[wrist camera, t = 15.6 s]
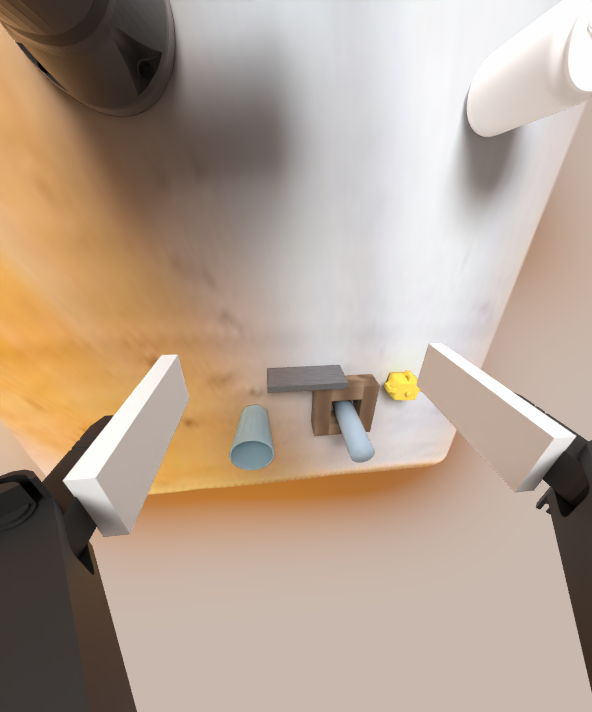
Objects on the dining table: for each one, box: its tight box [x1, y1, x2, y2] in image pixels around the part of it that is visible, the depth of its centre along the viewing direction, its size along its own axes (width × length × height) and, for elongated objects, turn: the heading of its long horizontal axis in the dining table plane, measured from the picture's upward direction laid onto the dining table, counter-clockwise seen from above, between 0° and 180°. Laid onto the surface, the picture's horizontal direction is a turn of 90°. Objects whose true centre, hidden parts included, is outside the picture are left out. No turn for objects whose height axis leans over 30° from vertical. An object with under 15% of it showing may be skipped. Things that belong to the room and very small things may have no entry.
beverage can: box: [467, 0, 592, 137], centre depth 25 cm, size 8×8×12 cm
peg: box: [332, 400, 375, 462], centre depth 46 cm, size 4×4×14 cm
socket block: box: [311, 374, 380, 436], centre depth 50 cm, size 12×12×4 cm
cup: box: [229, 405, 274, 470], centre depth 47 cm, size 8×8×10 cm
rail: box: [267, 365, 348, 393], centre depth 44 cm, size 14×1×6 cm, turn 90°
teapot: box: [384, 371, 421, 400], centre depth 48 cm, size 8×6×5 cm
